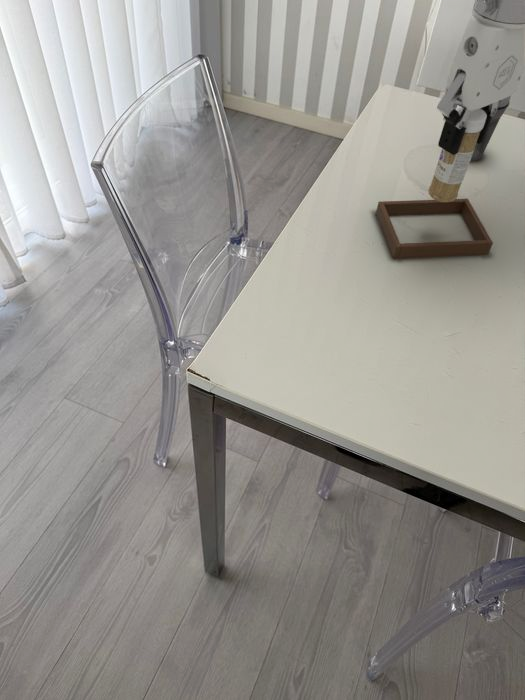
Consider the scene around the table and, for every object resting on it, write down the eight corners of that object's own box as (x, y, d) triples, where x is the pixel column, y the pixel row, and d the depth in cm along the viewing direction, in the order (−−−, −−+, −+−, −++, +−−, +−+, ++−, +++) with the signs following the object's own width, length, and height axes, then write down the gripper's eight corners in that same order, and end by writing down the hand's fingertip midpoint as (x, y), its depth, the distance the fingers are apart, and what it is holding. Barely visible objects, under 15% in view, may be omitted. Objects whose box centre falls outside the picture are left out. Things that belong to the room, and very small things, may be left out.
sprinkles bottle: (423, 187, 89) (448, 104, 78) (450, 185, 89) (479, 102, 79) (434, 205, 86) (461, 120, 76) (462, 203, 87) (493, 119, 76)
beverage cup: (495, 161, 109) (537, 53, 94) (469, 172, 107) (509, 63, 91) (466, 143, 113) (503, 37, 98) (441, 153, 110) (475, 46, 95)
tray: (462, 213, 98) (467, 198, 96) (486, 257, 91) (493, 242, 89) (374, 216, 97) (378, 201, 94) (392, 262, 89) (396, 246, 87)
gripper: (486, 29, 62) (439, 175, 76) (576, 0, 69) (518, 139, 83) (435, 6, 65) (399, 149, 79) (525, -19, 72) (477, 117, 86)
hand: (460, 143), depth 81 cm, fingers closed on sprinkles bottle, 4 cm apart
